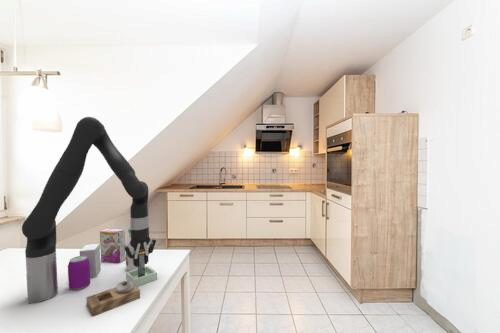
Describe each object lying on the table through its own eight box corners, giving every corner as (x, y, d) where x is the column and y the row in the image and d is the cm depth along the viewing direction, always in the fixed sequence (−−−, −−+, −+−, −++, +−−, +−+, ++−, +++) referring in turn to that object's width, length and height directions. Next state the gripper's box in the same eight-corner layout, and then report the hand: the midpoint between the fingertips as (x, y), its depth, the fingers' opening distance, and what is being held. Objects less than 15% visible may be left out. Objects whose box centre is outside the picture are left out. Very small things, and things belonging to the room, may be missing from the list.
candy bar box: (100, 262, 132) (99, 231, 131) (107, 258, 137) (105, 228, 136) (120, 263, 130) (118, 232, 129) (126, 259, 135) (125, 229, 134)
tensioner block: (92, 316, 87) (91, 299, 87) (86, 305, 94) (86, 289, 94) (140, 297, 98) (139, 283, 98) (131, 288, 105) (131, 275, 105)
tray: (133, 287, 106) (133, 280, 106) (125, 279, 113) (125, 272, 113) (157, 279, 113) (157, 272, 113) (148, 271, 120) (148, 265, 120)
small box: (86, 271, 121) (85, 244, 121) (101, 269, 123) (100, 243, 123) (80, 279, 114) (79, 250, 113) (96, 277, 116) (95, 249, 115)
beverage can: (68, 285, 108) (66, 258, 108) (89, 279, 113) (87, 253, 113) (69, 292, 103) (68, 263, 102) (91, 286, 107) (90, 258, 107)
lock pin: (135, 277, 113) (134, 250, 112) (144, 274, 116) (143, 248, 115) (138, 280, 110) (138, 253, 110) (147, 277, 113) (146, 250, 112)
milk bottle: (146, 264, 128) (145, 225, 127) (138, 271, 120) (136, 230, 119) (131, 264, 129) (130, 225, 128) (122, 271, 121) (121, 230, 120)
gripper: (152, 222, 119) (153, 257, 120) (119, 228, 110) (121, 267, 111) (158, 225, 114) (160, 262, 115) (125, 232, 104) (127, 272, 105)
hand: (141, 264), depth 113 cm, fingers open, 3 cm apart
